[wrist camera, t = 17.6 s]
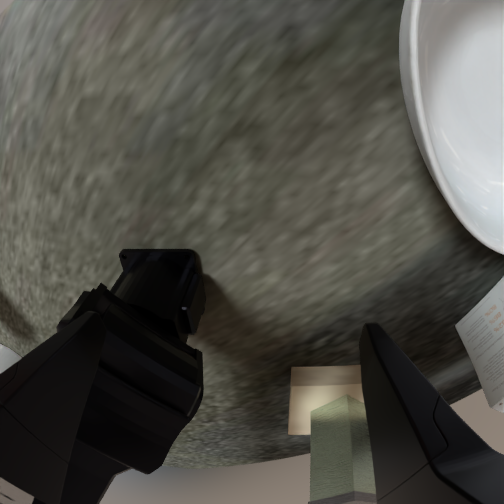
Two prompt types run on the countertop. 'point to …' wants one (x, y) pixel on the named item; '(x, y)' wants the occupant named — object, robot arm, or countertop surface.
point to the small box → (487, 343)
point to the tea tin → (341, 454)
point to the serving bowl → (459, 105)
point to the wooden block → (319, 391)
